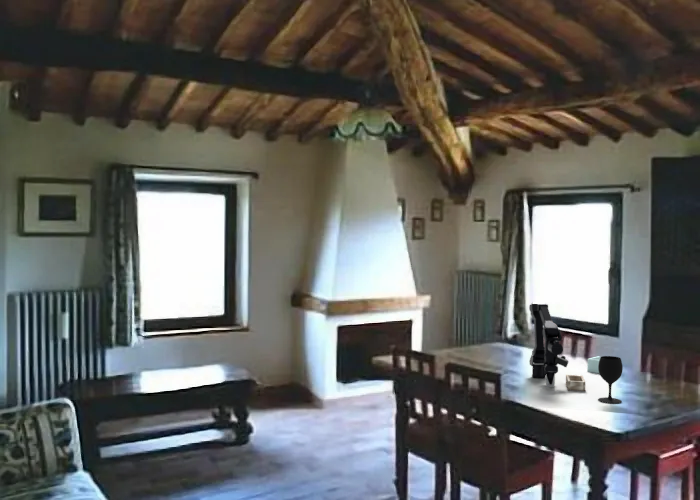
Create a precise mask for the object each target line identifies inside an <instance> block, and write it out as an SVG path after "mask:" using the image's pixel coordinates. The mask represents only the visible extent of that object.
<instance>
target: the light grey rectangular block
mask: <svg viewBox="0 0 700 500" xmlns="http://www.w3.org/2000/svg"><path fill="white" fill-rule="evenodd" d="M555 376H556V374H555V375H554V378H553V382H552V384H549V381H548V378H547V376H546V377H545V387H547V388H548V387H549V388H555V384H556V383H555V382H556V377H555Z"/></svg>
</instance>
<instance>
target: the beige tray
mask: <svg viewBox="0 0 700 500" xmlns="http://www.w3.org/2000/svg"><path fill="white" fill-rule="evenodd" d="M565 385H566V388H567V390H568V391H576V392H577V391H578V392H586V380H585V378H584V376H583V375H579V374H578V375H577V374H573V375H572V374H565Z"/></svg>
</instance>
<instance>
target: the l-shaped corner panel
mask: <svg viewBox="0 0 700 500" xmlns="http://www.w3.org/2000/svg"><path fill="white" fill-rule="evenodd" d="M600 357H601V356H599V355H597V356H594V357H590V358H587V368H586V369H587V372H590V373H596V374H599V370H598V365H599V360H600Z"/></svg>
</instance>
